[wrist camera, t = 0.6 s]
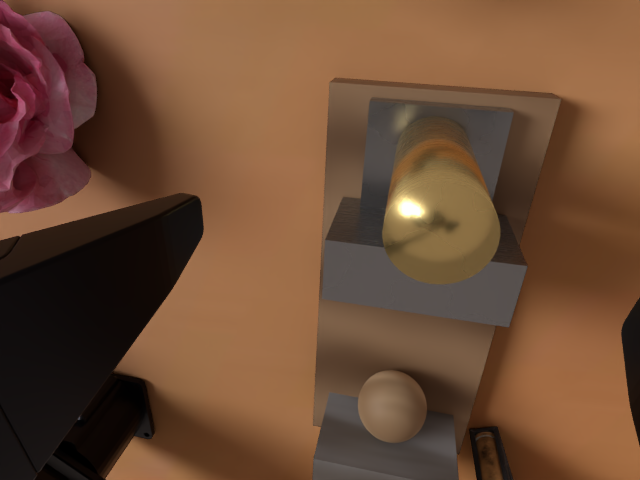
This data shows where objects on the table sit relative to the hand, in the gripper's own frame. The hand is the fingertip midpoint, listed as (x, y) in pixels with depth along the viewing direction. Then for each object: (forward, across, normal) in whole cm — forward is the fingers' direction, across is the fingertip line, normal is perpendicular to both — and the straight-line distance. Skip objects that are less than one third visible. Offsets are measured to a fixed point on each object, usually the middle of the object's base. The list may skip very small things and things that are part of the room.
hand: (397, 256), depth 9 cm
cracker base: (+14, -1, +11) cm, 18 cm away
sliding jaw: (+12, 0, +4) cm, 13 cm away
